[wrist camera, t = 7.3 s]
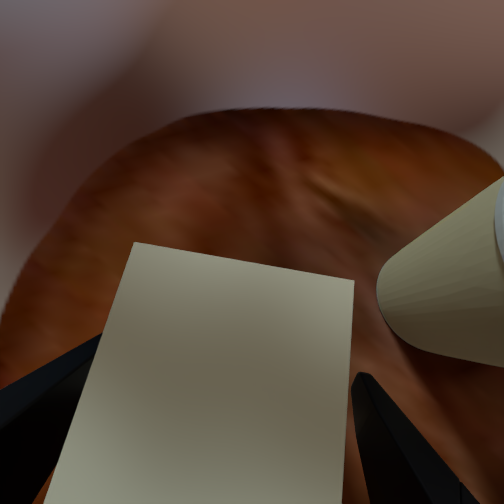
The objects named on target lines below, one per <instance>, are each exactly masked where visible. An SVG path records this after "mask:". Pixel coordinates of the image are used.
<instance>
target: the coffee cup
mask: <svg viewBox="0 0 504 504" xmlns="http://www.w3.org/2000/svg"><path fill="white" fill-rule="evenodd" d="M376 292H377V300H378V305H379V308H380V310H381V313H382V315H383V317H384V319H385V320H386V322H387V323H388V325H389V326H390V327H391V329H392V330H393V331H394V332H395V333H396V334H397V335H398V336H399V337H400V338H402V339H403V340H404V341H406V342H407V343H409V344H410V345H412V346H414V347H416V348H418V349H421V350H424V351H428V352H431V353H435V354H440V355H444V356H449V357H454V358H459V359H464V360H468V361H473V362H478V363H483V364H488V365H493V366H498V367H503V368H504V177H502V178H501V179H499V180H498V181H496V182H495V183H493V184H492V185H490V186H489V187H487V188H486V189H485V190H483V191H482V192H480V193H479V194H478V195H476V196H475V197H473V198H472V199H471V200H469V201H468V202H467V203H465V204H464V205H462V206H461V207H460V208H458V209H457V210H455V211H454V212H453V213H451V214H450V215H448V216H447V217H446V218H444V219H443V220H441V221H440V222H439V223H437V224H436V225H434V226H433V227H432V228H430V229H429V230H428V231H426V232H425V233H423V234H422V235H421V236H419V237H418V238H417V239H415V240H414V241H412V242H411V243H410V244H408V245H407V246H406V247H404V248H403V249H401V250H400V251H399V252H398V253H396V254H395V255H394V256H393V257H391V258H390V259H389V260H388V261H387V262H386V263H385V265H384V266H383V268H382V270H381V271H380V273H379V276H378V280H377V287H376Z"/></svg>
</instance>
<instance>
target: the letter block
mask: <svg viewBox="0 0 504 504" xmlns="http://www.w3.org/2000/svg"><path fill="white" fill-rule="evenodd" d="M353 294H354V281H353V280H347V279H341V278H336V277H330V276H324V275H319V274H313V273H307V272H302V271H296V270H290V269H285V268H279V267H273V266H268V265H262V264H256V263H251V262H245V261H239V260H234V259H228V258H222V257H217V256H211V255H205V254H200V253H194V252H188V251H183V250H177V249H171V248H166V247H160V246H154V245H149V244H143V243H137V242H134V244H133V247H132V250H131V253H130V256H129V259H128V262H127V265H126V268H125V270H124V273H123V276H122V279H121V282H120V285H119V288H118V291H117V293H116V296H115V299H114V302H113V305H112V308H111V311H110V314H109V317H108V319H107V322H106V325H105V328H104V331H103V334H102V337H101V340H100V342H99V345H98V348H97V351H96V354H95V357H94V360H93V363H92V365H91V368H90V371H89V374H88V377H87V380H86V383H85V386H84V389H83V391H82V394H81V397H80V400H79V403H78V406H77V409H76V412H75V414H74V417H73V420H72V423H71V426H70V429H69V432H68V435H67V438H66V440H65V443H64V446H63V449H62V452H61V455H60V458H59V461H58V463H57V466H56V469H55V472H54V475H53V478H52V481H51V484H50V486H49V489H48V492H47V495H46V498H45V501H44V504H342V488H343V470H344V453H345V435H346V417H347V400H348V382H349V365H350V347H351V329H352V312H353Z"/></svg>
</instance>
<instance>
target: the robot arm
mask: <svg viewBox="0 0 504 504" xmlns="http://www.w3.org/2000/svg"><path fill="white" fill-rule="evenodd" d="M102 334H103V333H101V334H99V335H97V336H95V337H94V338H92V339H90V340H88V341H86V342H85V343H83V344H81V345H79V346H78V347H76V348H74V349H72V350H70V351H69V352H67V353H65V354H63V355H62V356H60V357H58V358H56V359H54V360H53V361H51V362H49V363H47V364H46V365H44V366H42V367H40V368H38V369H37V370H35V371H33V372H31V373H29V374H28V375H26V376H24V377H22V378H21V379H19V380H17V381H15V382H13V383H12V384H10V385H8V386H6V387H5V388H3V389H1V390H0V504H32V503H33V501H34V499H35V498H36V496H37V495H38V493H39V492H40V490H41V488H42V487H43V485H44V484H45V482H46V480H47V479H48V477H49V476H50V474H51V472H52V471H53V469H54V468H55V466H56V465H57V463H58V461H59V458H60V455H61V452H62V449H63V446H64V443H65V440H66V438H67V435H68V432H69V429H70V426H71V423H72V420H73V417H74V414H75V412H76V409H77V406H78V403H79V400H80V397H81V394H82V391H83V389H84V386H85V383H86V380H87V377H88V374H89V371H90V368H91V365H92V363H93V360H94V357H95V354H96V351H97V348H98V345H99V342H100V340H101V337H102ZM351 397H352V406H353V415H354V423H355V432H356V439H357V444H358V449H359V453H360V458H361V463H362V467H363V472H364V476H365V481H366V486H367V490H368V495H369V500H370V504H480V503H479V502H478V501H477V500H476V499H475V497H474V496H473V495H472V494H471V493H470V491H469V490H468V489H467V488H466V487H465V485H464V484H463V483H462V482H460V481H459V478H458V477H457V476H456V475H455V474H454V473H453V471H452V470H451V469H450V468H449V467H448V465H447V464H446V463H445V462H444V461H443V459H442V458H441V457H440V456H439V455H438V453H437V452H436V451H435V450H434V449H433V448H432V446H431V445H430V444H429V443H428V442H427V440H426V439H425V438H424V437H423V436H422V434H421V433H420V432H419V431H418V430H417V429H416V427H415V426H414V425H413V424H412V423H411V421H410V420H409V419H408V418H407V417H406V415H405V414H404V413H403V412H402V411H401V409H400V408H399V407H398V406H397V405H396V404H395V402H394V401H393V400H392V399H391V398H390V396H389V395H388V394H387V393H386V392H385V390H384V389H383V388H382V387H381V386H380V385H379V383H378V382H377V381H376V380H375V379H374V377H373V376H372V375H371V374H369V373H364V372H358V373H357V375H356V377H355V379H354V381H353V384H352V386H351Z"/></svg>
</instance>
